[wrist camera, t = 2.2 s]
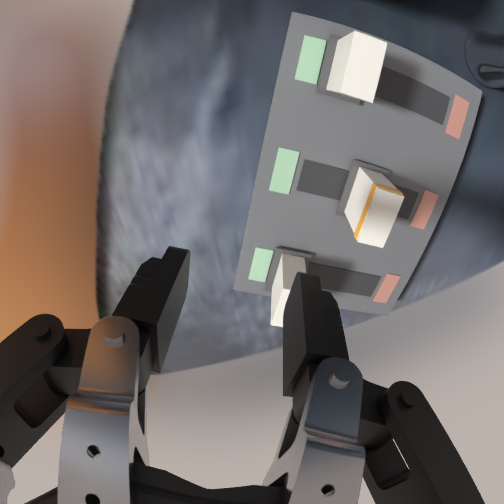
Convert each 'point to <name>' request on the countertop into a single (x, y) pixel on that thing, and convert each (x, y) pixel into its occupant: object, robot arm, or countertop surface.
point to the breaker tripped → (369, 203)
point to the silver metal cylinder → (486, 57)
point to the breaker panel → (339, 162)
